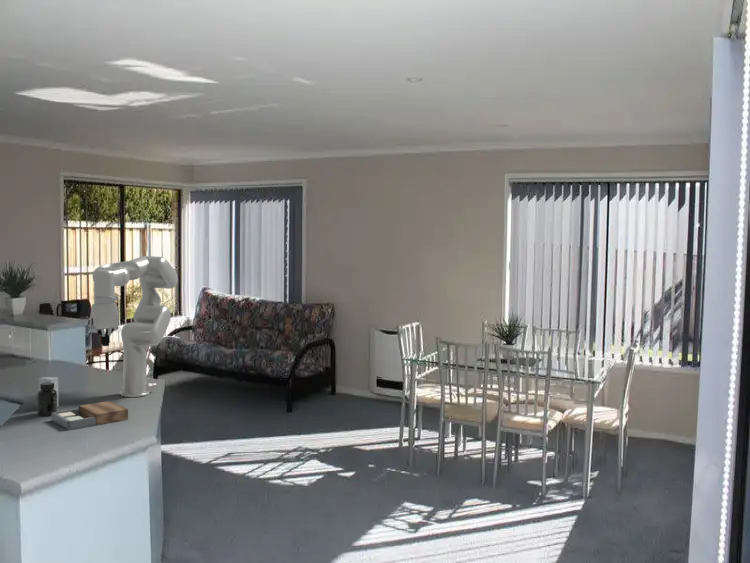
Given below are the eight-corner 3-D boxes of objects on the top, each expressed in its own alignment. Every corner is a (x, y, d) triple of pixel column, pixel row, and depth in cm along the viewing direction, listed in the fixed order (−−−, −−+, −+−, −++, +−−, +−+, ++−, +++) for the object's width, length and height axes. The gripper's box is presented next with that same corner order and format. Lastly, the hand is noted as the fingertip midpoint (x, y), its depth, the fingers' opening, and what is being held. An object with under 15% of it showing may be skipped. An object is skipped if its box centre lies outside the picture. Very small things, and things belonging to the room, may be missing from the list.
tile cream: (56, 413, 244) (56, 419, 244) (61, 416, 241) (61, 422, 241) (70, 411, 248) (70, 416, 248) (75, 414, 244) (75, 419, 244)
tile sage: (64, 418, 239) (64, 423, 239) (69, 421, 235) (69, 426, 235) (79, 415, 242) (78, 421, 243) (84, 418, 239) (84, 424, 239)
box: (78, 416, 251) (78, 408, 251) (95, 425, 240) (95, 417, 240) (51, 420, 244) (51, 412, 244) (68, 430, 233) (68, 421, 233)
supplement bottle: (52, 410, 257) (52, 380, 257) (60, 414, 253) (60, 383, 252) (34, 414, 252) (34, 383, 251) (42, 417, 248) (42, 386, 247)
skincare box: (58, 406, 264) (58, 377, 263) (50, 409, 260) (51, 379, 259) (46, 405, 265) (46, 376, 265) (38, 407, 261) (38, 378, 260)
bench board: (109, 410, 260) (109, 400, 260) (127, 419, 249) (128, 409, 249) (78, 415, 251) (78, 405, 251) (96, 425, 240) (96, 414, 240)
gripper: (118, 298, 269) (119, 341, 271) (81, 300, 258) (82, 346, 260) (126, 300, 264) (127, 344, 266) (89, 303, 253) (90, 349, 255)
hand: (105, 345), depth 263 cm, fingers closed
